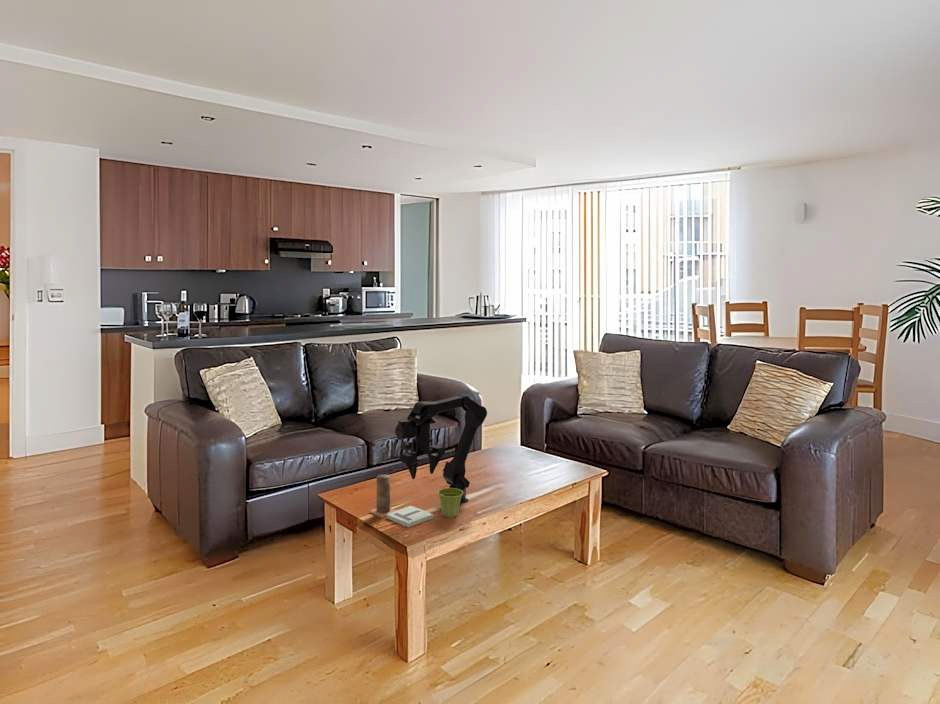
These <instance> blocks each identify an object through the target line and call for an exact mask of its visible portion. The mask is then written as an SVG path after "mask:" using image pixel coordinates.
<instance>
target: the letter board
mask: <svg viewBox="0 0 940 704" xmlns="http://www.w3.org/2000/svg"><path fill="white" fill-rule="evenodd" d="M433 518H434V514H433V513H430V512H428V511H426V510H424V509H421V508H418V507H416V506H413V505H409V506H406V507H403V508H400V509H397V510H396V511H394V512H391V513H388V514H387V516H386V519H388V520H390V521H392V522H395V523H397V524H399V525H401V526H404V527H407V528H410V527H413V526H416V525H418V524H422V523H424V522H426V521H430V520H432V519H433Z"/></svg>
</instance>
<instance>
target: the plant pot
mask: <svg viewBox="0 0 940 704" xmlns="http://www.w3.org/2000/svg"><path fill="white" fill-rule="evenodd" d="M437 493H438V496H439V500H440V507H441V508H440V509H441V515H442V516H444V517H445V518H454V517H457V516H459V511H460V506H461V503H460V501H461V498H462V495H463V491H462V490H460V489H457V488H449V487H444V488H441V489H439V490H438V491H437Z"/></svg>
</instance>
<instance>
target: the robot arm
mask: <svg viewBox="0 0 940 704" xmlns="http://www.w3.org/2000/svg"><path fill="white" fill-rule="evenodd" d="M412 407H413V408H412V410H411V411H410V413H409V414H408V416H407V417H406V420H398V421H397V423H398V424H397V425H396V427H395V429H394V430H395V431H394V433H395V436H396V438H397V439H398V440H399V441H401V440H402V441H401V442H400V447H401V450H402V451H405V452H403V453H400V454H399V457H398V458H399V459H398V461H399V462H401V463H403V464H405V465H406V467H407V469H408V470H409V471H408V472H409V475H410V477H411V479H412V480H415V479H416V475H417V470H418V464H419V463H418V459H419V458H423V457H426V456H427V457H428V461H429V473H430V474H431V475H432V474H434V472H435V470H436V468H437V466H438V464H439V462H440V461H441V459H442V458H443V457H444V456H443V455H446V448H445V447H444V446H442V445H438V444H433V445H431V443H432V442H434V441H433V438H431V425H433V424H436V421H435V419H434V417H436V416H437V415H438V414H439V413H442V412H446V411H451V410H454V409H458V408H461V410H463V411H464V412H465V413H464V421H465V422H464V424H465V425H464V427H463V431H462V433H461V436H460V438H459V442H458V444H457V446H456V449H455V452H454V455H453V457H452V459H451V460H450V461H446V462H445V463H444V464H445V465H444V468H443V469H442V472H443V473H442V477H443V479H444V480H445V482H446V484H447V485H449V486H448V488H457V489H460V490H462V491H463V495H462V498H461V501H460V504H463V503H466V502H468V501H469V500H470V499H469V498H467V496H466V495H467V494H466V493H467V492H466V491H467V488H469V486H470V484H471V483H470V481H469V480H468V478H466V472H467V471H466V460H467V458H468V454H469V452H470V449H471V447H472V444H473V441H474V438H475V435H476V433H477V430H478V429H479V428H480V426H482V424H483V423H484V422H485V420H486V418H487V416H488V411H487V408H486V407H485V406H484V405H480V404H479V403H477V402H476V401H474V400H473V399H472V398H470V397H469V396H468V395H465V394H458V395H456V396H452V397H449V398H448V397H447V398H444V399H439V400H435V401H426V400H425V401H418V402H415V403H414V405H413V406H412ZM409 439H412V441H410V442H409V441H408V440H409ZM409 451H410V452H409Z"/></svg>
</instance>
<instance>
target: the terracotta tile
mask: <svg viewBox="0 0 940 704" xmlns="http://www.w3.org/2000/svg"><path fill="white" fill-rule="evenodd" d="M394 511H397V510H396V509H393V508H391V507H390V511H389V512H386V513H379V512H377V507H376V508H373V509H370V510H369V513H370V514H372V515H375V516H377V517H378V518H385V517H387V514H388V513H391V512H394Z"/></svg>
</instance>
